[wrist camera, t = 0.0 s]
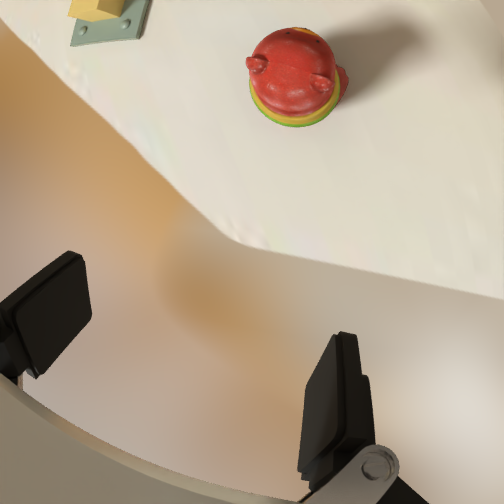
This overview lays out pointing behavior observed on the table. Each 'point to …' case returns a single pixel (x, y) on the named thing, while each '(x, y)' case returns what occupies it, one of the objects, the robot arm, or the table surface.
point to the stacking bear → (295, 77)
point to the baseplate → (112, 26)
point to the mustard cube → (95, 9)
